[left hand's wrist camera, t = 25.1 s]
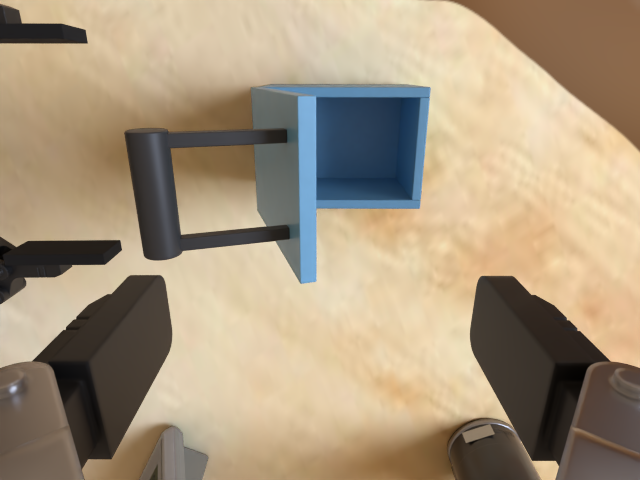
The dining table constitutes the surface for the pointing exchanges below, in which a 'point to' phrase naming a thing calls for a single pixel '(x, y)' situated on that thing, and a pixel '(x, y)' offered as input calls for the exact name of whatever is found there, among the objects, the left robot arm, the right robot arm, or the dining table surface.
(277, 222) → the lid
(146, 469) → the digital clock
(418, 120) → the chest
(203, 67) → the dining table surface
